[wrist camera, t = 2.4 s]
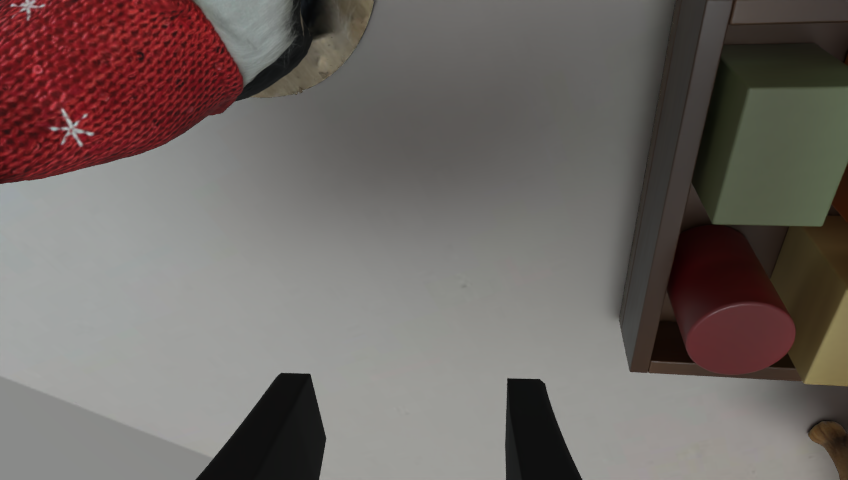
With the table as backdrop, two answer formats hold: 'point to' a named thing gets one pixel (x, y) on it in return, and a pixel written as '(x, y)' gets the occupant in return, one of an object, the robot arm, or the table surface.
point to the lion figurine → (833, 444)
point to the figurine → (150, 70)
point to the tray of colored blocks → (746, 198)
